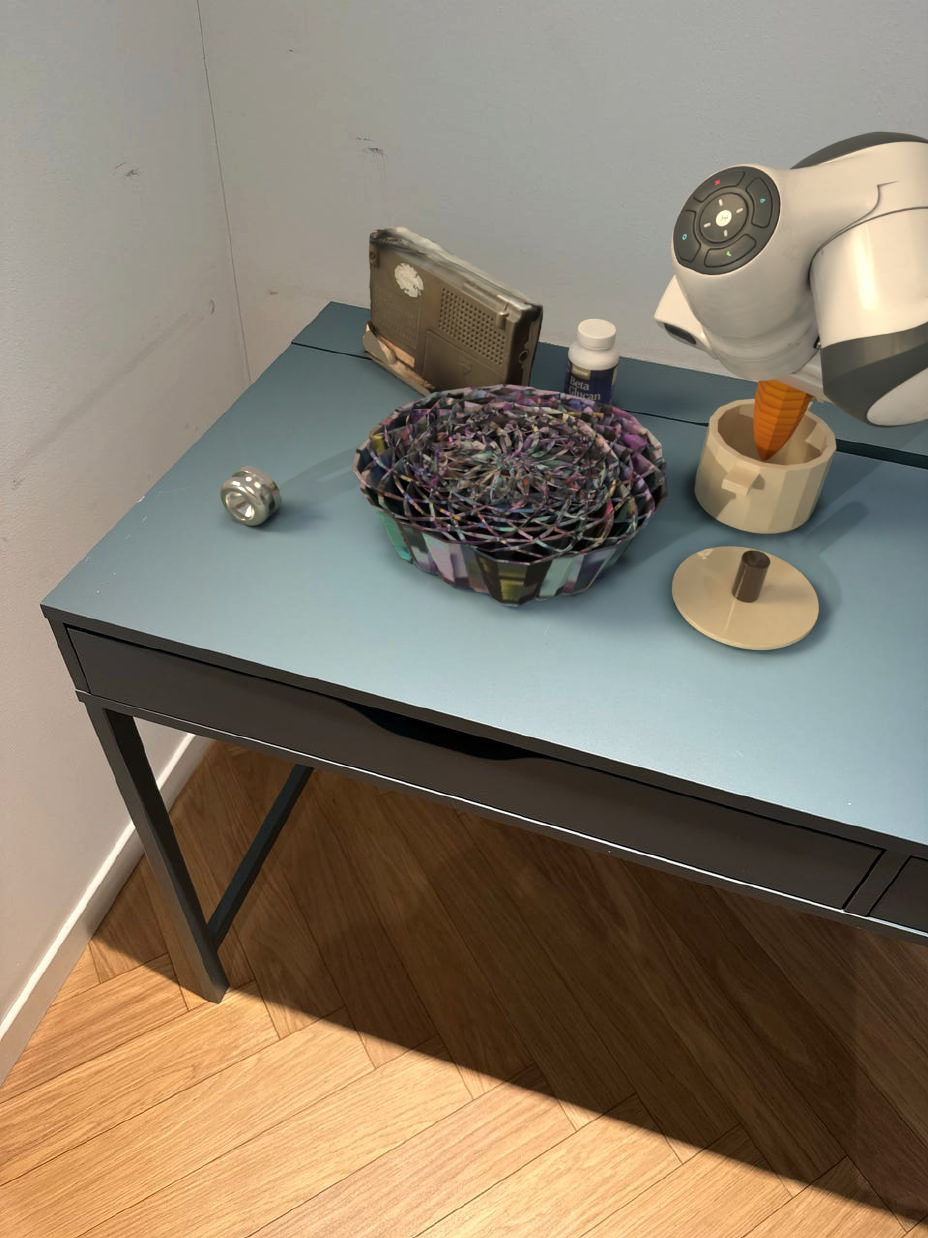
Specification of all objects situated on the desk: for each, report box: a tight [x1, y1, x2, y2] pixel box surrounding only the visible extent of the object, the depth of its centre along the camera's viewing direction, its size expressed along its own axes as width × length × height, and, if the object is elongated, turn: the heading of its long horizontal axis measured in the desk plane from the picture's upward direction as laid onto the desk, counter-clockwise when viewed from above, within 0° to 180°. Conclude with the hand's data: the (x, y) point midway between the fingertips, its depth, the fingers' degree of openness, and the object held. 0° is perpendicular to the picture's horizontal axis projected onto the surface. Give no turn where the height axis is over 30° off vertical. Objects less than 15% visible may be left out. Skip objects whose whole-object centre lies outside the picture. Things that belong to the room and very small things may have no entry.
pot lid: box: [671, 545, 820, 651], centre depth 83 cm, size 13×13×5 cm
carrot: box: [753, 380, 812, 461], centre depth 87 cm, size 5×5×15 cm
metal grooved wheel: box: [219, 465, 282, 526], centre depth 89 cm, size 5×3×5 cm, turn 64°
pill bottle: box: [562, 318, 620, 406], centre depth 102 cm, size 5×5×10 cm
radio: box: [362, 225, 544, 397], centre depth 103 cm, size 23×9×15 cm, turn 38°
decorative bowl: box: [351, 384, 670, 608], centre depth 87 cm, size 26×28×10 cm
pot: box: [694, 398, 837, 535], centre depth 93 cm, size 12×17×8 cm
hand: (790, 380), depth 87 cm, fingers closed on carrot, 4 cm apart
